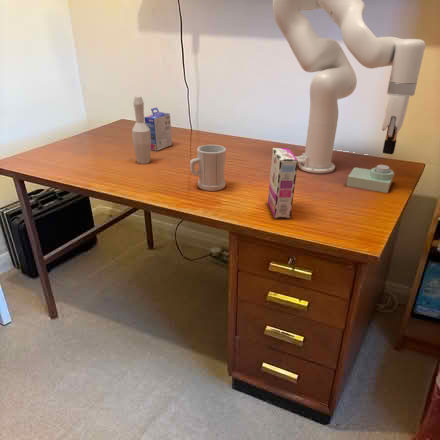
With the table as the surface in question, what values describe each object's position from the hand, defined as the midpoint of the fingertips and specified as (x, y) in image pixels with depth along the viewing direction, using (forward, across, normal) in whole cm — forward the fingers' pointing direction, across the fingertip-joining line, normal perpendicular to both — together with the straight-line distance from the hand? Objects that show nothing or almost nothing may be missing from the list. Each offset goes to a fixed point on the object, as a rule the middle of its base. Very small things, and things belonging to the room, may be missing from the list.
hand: (388, 152), depth 135 cm
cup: (+10, +26, -49) cm, 56 cm away
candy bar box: (+11, +33, -23) cm, 42 cm away
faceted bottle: (+10, +15, -82) cm, 84 cm away
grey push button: (+6, 0, -1) cm, 6 cm away
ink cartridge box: (+9, -3, -86) cm, 87 cm away
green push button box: (+11, 0, -4) cm, 11 cm away
